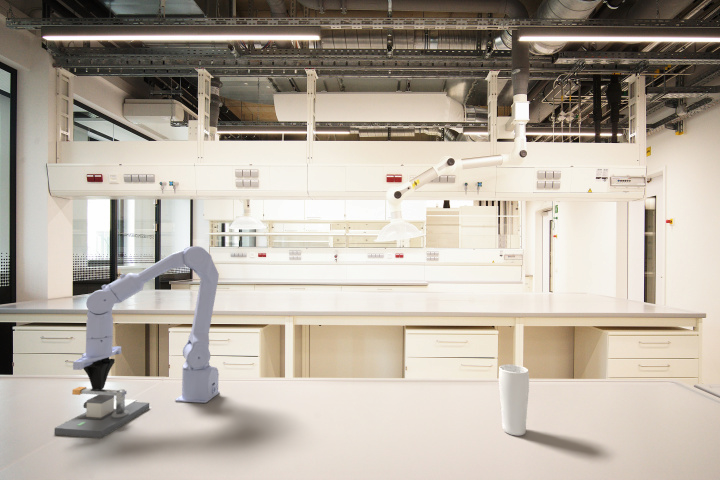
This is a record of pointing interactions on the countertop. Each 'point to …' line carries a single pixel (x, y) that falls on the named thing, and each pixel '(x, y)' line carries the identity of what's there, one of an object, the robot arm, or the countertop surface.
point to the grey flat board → (101, 421)
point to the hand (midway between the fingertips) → (98, 389)
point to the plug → (99, 406)
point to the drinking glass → (514, 398)
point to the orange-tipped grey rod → (118, 393)
